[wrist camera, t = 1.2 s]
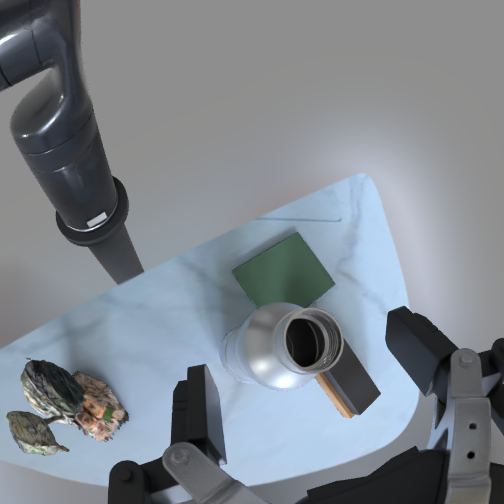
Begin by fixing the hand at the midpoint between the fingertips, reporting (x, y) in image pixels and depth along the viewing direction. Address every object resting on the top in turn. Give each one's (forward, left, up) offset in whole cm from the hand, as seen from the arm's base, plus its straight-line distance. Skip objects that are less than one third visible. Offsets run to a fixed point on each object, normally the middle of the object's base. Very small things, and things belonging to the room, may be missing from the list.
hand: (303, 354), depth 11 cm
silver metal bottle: (0, +2, -23) cm, 23 cm away
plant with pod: (-5, -18, -23) cm, 30 cm away
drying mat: (-5, +12, -23) cm, 26 cm away
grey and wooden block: (+8, +10, -23) cm, 26 cm away
